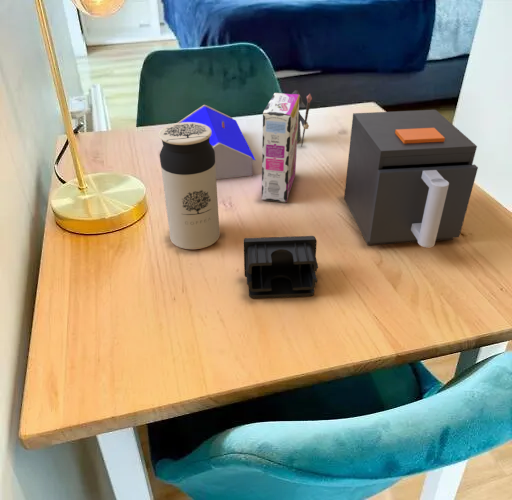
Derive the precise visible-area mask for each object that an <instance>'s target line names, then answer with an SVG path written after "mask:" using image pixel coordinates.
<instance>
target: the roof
mask: <svg viewBox="0 0 512 500" xmlns="http://www.w3.org/2000/svg"><path fill="white" fill-rule="evenodd" d="M182 122H195V123H201V124H204V125H206V126H208V127H209V128H210V129H211V130H212V134H211V136H210V141H209V142H210V144H211V146H212V147H213V149H214V151H215V165H216V180H224V179H233V178H244V177H251V176H253V161H256V158H255V156H254V154H253V152H252V150H251V148H250V146H249V144H248V141H247V139H246V138H245V136H244V134H243V132H242V130H241V128H240V126H239V123H238V122H237V120H236V119H234V118H233V117H232V116H229V115H227V114H225V113H223V112H221V111H219V110H217V109H215V108H213V107H211V106H209V105H206V104H203V105H201V106H200V107H198V108H197V109H195V110H194V111H192V112H191V113H190V114H188V115H186V116H185V117H184V118H182V119H181V120H179V121H178V122H177V123H182Z"/></svg>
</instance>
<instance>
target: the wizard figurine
mask: <svg viewBox="0 0 512 500" xmlns="http://www.w3.org/2000/svg"><path fill="white" fill-rule="evenodd" d="M291 94H298V95H300V99H299V109H300V108H301V109H305V115H304V117H303V116H302V114H301V111H299V117H298V133H297V143H298V142H300V141H301V145H300V147H303V143H304V140H305V139H304V137H305V132H306V130H308V129H309V127H310V125H309V123H308V117H309V111H310V106H311V102H312V100H313V97H312V94H311V93H309V94H308V95H306V104H305V103H304V102H303V97H302V96H301V94H300V93H299V90H297V89H296V90H293V92H292V93H291ZM301 125H302V128H303V131H302V133H301Z"/></svg>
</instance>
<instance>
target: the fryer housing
mask: <svg viewBox="0 0 512 500" xmlns="http://www.w3.org/2000/svg"><path fill="white" fill-rule="evenodd" d="M349 141H350V142H349V148H348V149H349V150H348V160H347V167H346V178H345V187H344V196H343V199H344V202H345V204H346V205H347V208H348V209H349V212H350V213H351V216H352V218H353V219H354V222H355V223H356V225H357V227H358V230H359V231H360V234H361V236H362V237H363V239H364V242H365V243H366V245H367V246H379V245H391V244H407V243H408V244H409V243H410V244H411V243H418V240H411V241H395V242H380V243H369V241H368V234H369V227H370V221H371V214H372V207H373V200H374V193H375V186H376V179H377V172H378V170H382V167H383V166H399V165H417V164H434V165H435V166H436V167H439V166H458V165H474V164H473V163H474V160H475V156H476V151H477V148H478V146H477V145H476V144H475V143H474V142H473V141H472V140H471V139H470V138H468V136H466V134H464V133H463V132H461V130H460V129H458V128H457V127H456V126H455V125H454V124H453V123H452V122H450V120H448V119H447V118H446V117H445V116H444V115H442V114H441V112H439V111H438V110H437V109H423V110H422V109H419V110H418V109H417V110H397V111H377V112H374V111H373V112H355V113H352V120H351V129H350V140H349ZM451 240H452V241H453V240H454V238H441V239H436V241H435V242H439V241H451Z"/></svg>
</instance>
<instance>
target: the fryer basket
mask: <svg viewBox="0 0 512 500" xmlns="http://www.w3.org/2000/svg"><path fill="white" fill-rule="evenodd" d="M478 170H479V167H478V166H477V165H476V164H472V165H458V166H439V167H436V166H435V165H434V164H417V165H399V166H383V167H382V170H378V172H377V179H376V186H375V193H374V200H373V207H372V214H371V221H370V227H369V234H368V241H369V243H380V242H395V241H411V240H418V242H417V244H418V245H419V246H421V247H423V248H427V249H428V248H433V247H434V246H435V244H436V242H437V241H436V239H441V238H453V239H454V238H460V236H461V232H462V229H463V225H464V222H465V218H466V214H467V211H468V206H469V202H470V198H471V196H472V191H473V187H474V185H475V180H476V177H477V172H478Z"/></svg>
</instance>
